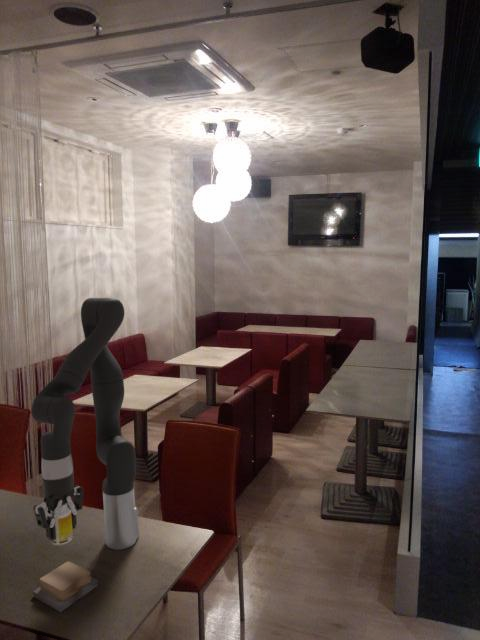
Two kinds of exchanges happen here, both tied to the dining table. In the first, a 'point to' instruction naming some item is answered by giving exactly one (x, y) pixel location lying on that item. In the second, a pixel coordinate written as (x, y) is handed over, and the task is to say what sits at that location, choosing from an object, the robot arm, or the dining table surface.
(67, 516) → the supplement bottle
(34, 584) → the dining table surface
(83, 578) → the pedestal
